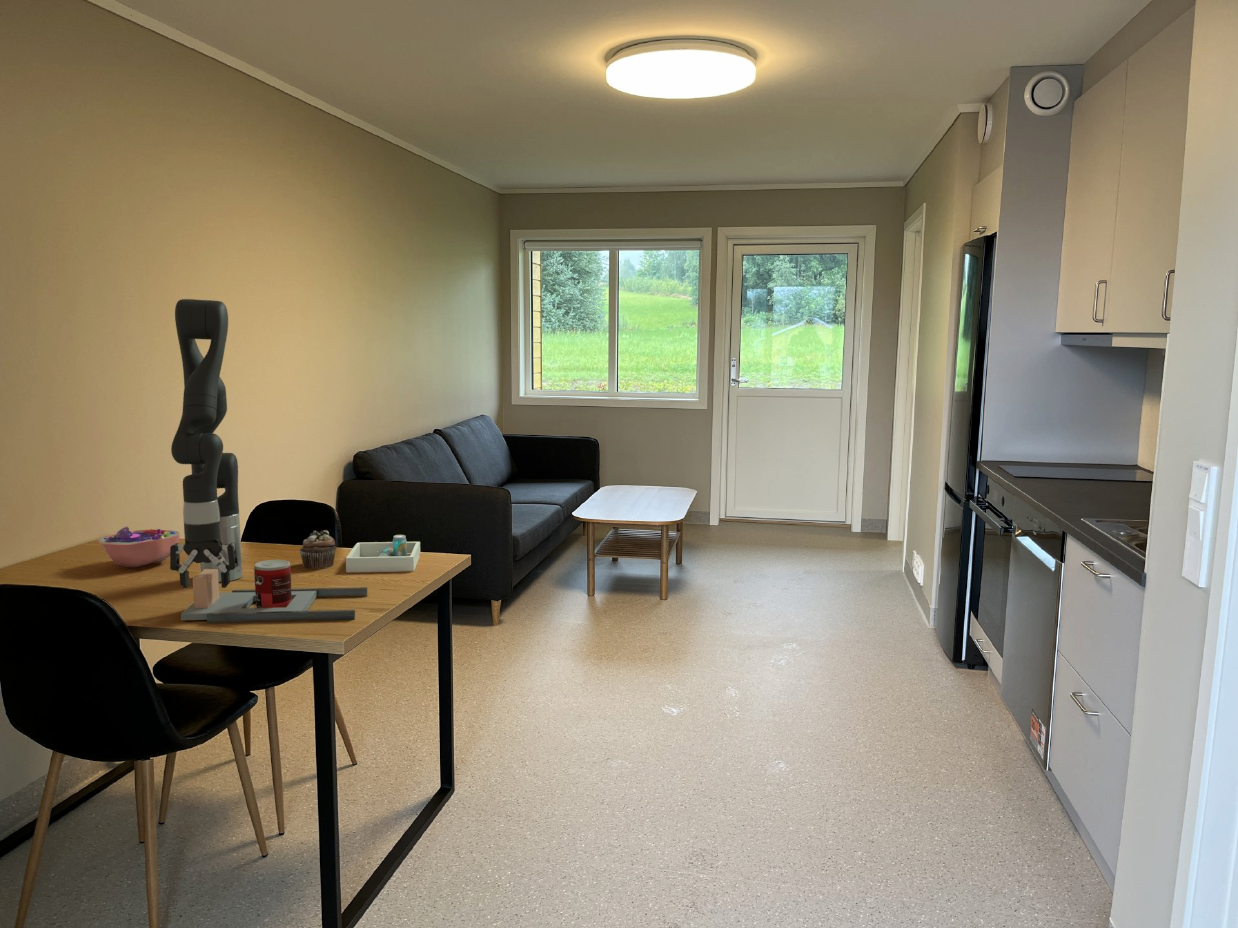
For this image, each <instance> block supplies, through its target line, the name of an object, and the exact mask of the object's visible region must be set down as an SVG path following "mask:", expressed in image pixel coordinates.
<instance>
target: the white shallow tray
mask: <svg viewBox="0 0 1238 928" xmlns="http://www.w3.org/2000/svg"><path fill="white" fill-rule="evenodd" d="M386 547H392V548H393V541H386V542H385V541H383V542H382V541H381V542H378V541H374V542H372V541H371V542H357V543H356V544H355V545H354V546H353V547H352V549H351V551H350V552H349V553H348V554H347V556H346V557H345V573H385V572H387V573H389V572H390V573H391V572H393V573H394V572H397V573H398V572H414V571H415V570H416V567H417V564H418V562H419V560H420V557H421V541H406V549H407V553H411V554H407V556H394V557H378V555H379V554H380V553H381V551H382V550H383V549H384V548H386ZM377 551H378V552H377ZM419 554H420V555H419Z"/></svg>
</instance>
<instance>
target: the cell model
mask: <svg viewBox="0 0 1238 928" xmlns="http://www.w3.org/2000/svg"><path fill="white" fill-rule="evenodd" d="M180 536H181V532H180V531H176V530H166V529H161V528H156V529H152V528H151V529H138V530H132V531H130V528H129V526H124V527H122V528H121V529H119V530H118V531H117V532H116V533H115V534H111V535H107V536H104V537H102V538H99V539H98V543H99V544H100V545H101V546H102V548H103V550H104V551H105V553H106V554H107V556H108V557H109V558H110V559H111V560H112V562H113V563H114V564H116V565H117V566H121V567H125V568H126V567H127V568H138V567H142V566H145V565H148V564H156V563H161V562H165V560H168V559H169V558H170V547H171V546H172V545H173V544H175V543H179V542H180ZM179 544H180V543H179Z"/></svg>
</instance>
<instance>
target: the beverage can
mask: <svg viewBox="0 0 1238 928" xmlns="http://www.w3.org/2000/svg"><path fill="white" fill-rule="evenodd" d="M392 542H393V548H392V547H386V548H384V549H383V550H382V551H381V553H380V554H379V555H378V556H377V557H394V556H407V549H406V542H407V538H406V535H404V534H396V535H393V539H392Z"/></svg>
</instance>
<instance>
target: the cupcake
mask: <svg viewBox="0 0 1238 928" xmlns="http://www.w3.org/2000/svg"><path fill="white" fill-rule="evenodd" d="M336 550H337V546H336V541H335V539H334V538H333V537H332V536H330V533H329V531H328V530H327V529H325V530H321V531H317V530H313V531H311V533H310V534H309V536H308V537H307V538H306V539H304V540H303V541H302V547H301V548H300V549H299V553H300V556H301V562H302V565H303V568H305V569H308V570H322V569H329V568H330V567H332V566H333V565H334V562H335V556H336V552H337V551H336Z"/></svg>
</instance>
